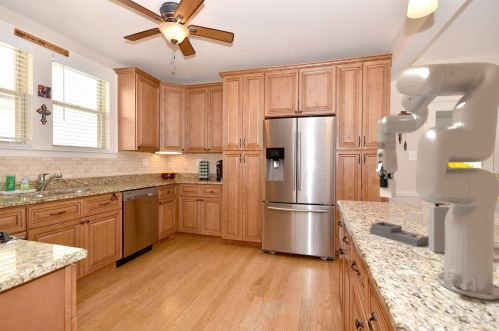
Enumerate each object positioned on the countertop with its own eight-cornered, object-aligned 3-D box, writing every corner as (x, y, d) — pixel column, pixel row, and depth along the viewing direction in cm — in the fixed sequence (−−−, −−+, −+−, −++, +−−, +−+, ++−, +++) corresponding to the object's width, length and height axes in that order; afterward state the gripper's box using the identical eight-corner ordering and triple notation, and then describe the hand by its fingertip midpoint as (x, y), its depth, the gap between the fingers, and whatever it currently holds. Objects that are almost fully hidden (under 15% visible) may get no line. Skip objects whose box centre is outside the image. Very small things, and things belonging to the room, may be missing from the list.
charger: (391, 197, 103) (391, 179, 103) (379, 196, 107) (380, 178, 107) (395, 197, 105) (396, 179, 105) (384, 195, 110) (384, 178, 110)
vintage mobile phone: (449, 253, 86) (450, 184, 85) (434, 252, 87) (434, 184, 86) (443, 249, 89) (443, 183, 89) (428, 249, 90) (428, 183, 90)
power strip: (416, 247, 93) (416, 235, 93) (369, 234, 110) (369, 223, 110) (428, 244, 97) (429, 231, 97) (381, 231, 115) (381, 221, 115)
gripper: (385, 145, 99) (385, 189, 99) (404, 146, 108) (404, 187, 108) (367, 146, 105) (368, 187, 105) (387, 148, 115) (387, 185, 115)
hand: (386, 186), depth 107 cm, fingers closed on charger, 4 cm apart
